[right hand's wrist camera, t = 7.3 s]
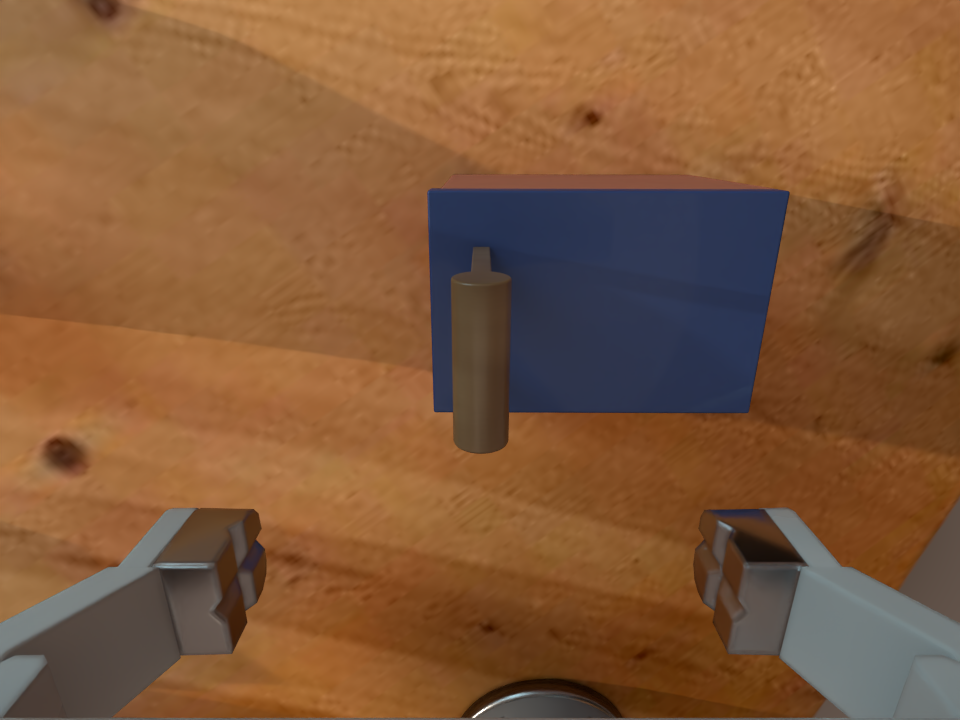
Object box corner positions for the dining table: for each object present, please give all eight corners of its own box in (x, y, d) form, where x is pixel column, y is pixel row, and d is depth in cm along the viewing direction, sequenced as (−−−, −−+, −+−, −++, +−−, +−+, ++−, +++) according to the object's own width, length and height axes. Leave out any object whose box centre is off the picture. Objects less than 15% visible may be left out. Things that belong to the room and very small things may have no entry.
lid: (435, 401, 27) (417, 507, 20) (429, 188, 24) (403, 211, 16) (738, 402, 27) (842, 508, 20) (776, 188, 24) (922, 212, 16)
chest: (454, 332, 38) (445, 401, 28) (452, 174, 34) (440, 188, 24) (669, 332, 37) (737, 402, 28) (689, 175, 34) (776, 188, 24)
